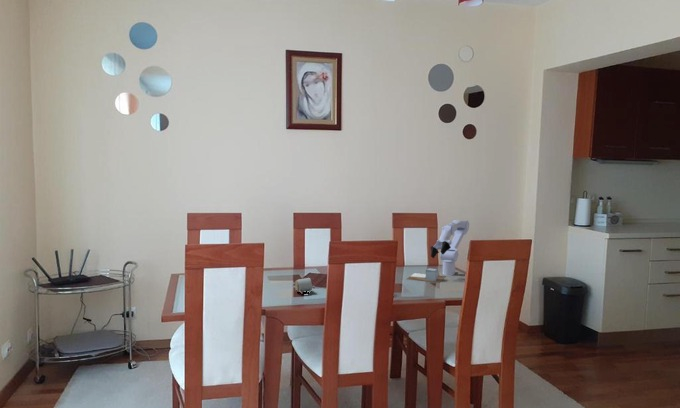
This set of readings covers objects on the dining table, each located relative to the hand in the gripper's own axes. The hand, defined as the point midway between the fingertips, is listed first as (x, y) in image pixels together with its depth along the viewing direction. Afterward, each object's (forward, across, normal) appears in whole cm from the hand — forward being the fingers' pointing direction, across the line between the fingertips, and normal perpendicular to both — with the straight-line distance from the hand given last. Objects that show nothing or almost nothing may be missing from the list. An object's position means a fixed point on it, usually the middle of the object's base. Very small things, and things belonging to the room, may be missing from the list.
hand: (437, 255), depth 274 cm
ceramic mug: (+58, -37, -42) cm, 81 cm away
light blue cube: (+7, -10, +10) cm, 16 cm away
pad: (+3, -20, +8) cm, 21 cm away
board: (+5, -15, +10) cm, 19 cm away
